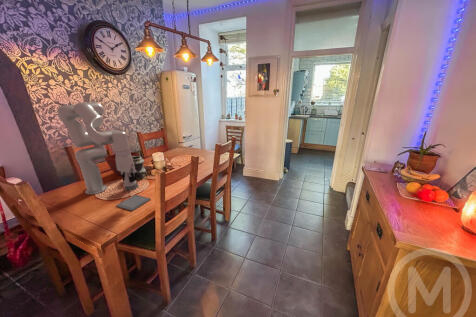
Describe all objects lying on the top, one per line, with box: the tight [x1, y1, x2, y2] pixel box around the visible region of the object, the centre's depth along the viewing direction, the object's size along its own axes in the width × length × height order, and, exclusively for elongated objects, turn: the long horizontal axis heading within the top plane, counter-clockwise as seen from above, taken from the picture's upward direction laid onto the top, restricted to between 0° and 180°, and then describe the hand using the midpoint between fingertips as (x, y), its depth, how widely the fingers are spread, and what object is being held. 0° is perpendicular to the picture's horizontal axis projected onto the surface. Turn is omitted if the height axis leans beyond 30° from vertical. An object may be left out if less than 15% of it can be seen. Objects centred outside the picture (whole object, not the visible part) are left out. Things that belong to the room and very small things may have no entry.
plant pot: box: [104, 151, 140, 177], centre depth 159 cm, size 19×19×17 cm
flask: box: [122, 173, 137, 188], centre depth 110 cm, size 7×7×10 cm
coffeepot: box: [124, 172, 139, 192], centre depth 132 cm, size 15×9×18 cm, turn 64°
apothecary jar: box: [132, 155, 147, 181], centre depth 150 cm, size 12×12×18 cm
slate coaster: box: [115, 194, 152, 212], centre depth 116 cm, size 14×14×1 cm
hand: (129, 180), depth 111 cm, fingers closed on flask, 5 cm apart
